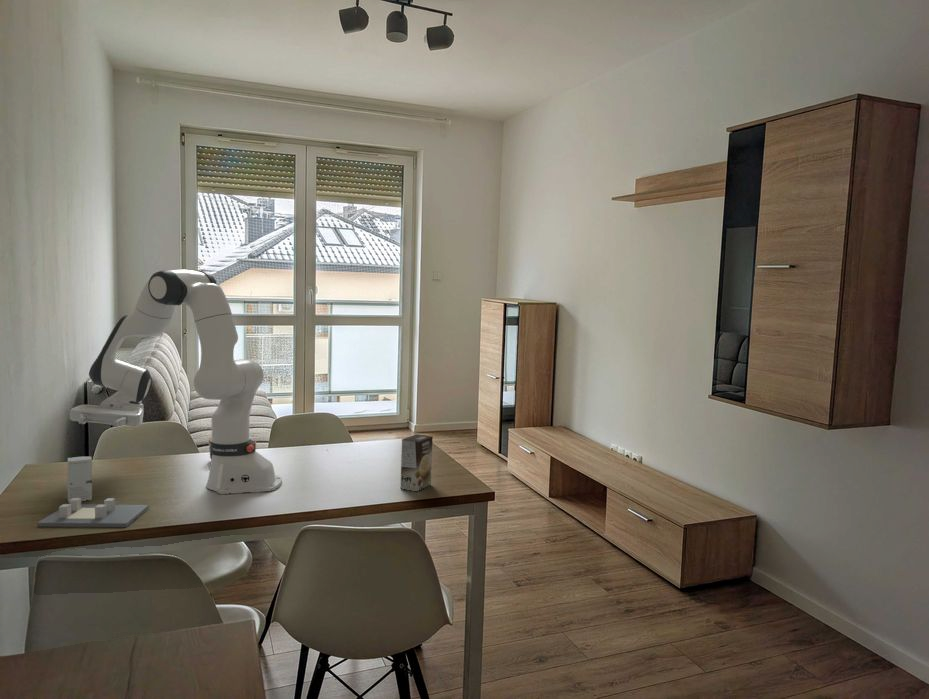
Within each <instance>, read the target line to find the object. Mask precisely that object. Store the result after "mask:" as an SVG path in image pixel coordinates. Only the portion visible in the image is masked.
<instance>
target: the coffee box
mask: <svg viewBox="0 0 929 699" xmlns="http://www.w3.org/2000/svg"><path fill="white" fill-rule="evenodd" d="M400 458H401V460H400V463H401V464H400V465H401V466H400V489H401V488H402V489H401V490H404V489H407V490H406V491H409V490H412V491H411V492H414V491H418V492H419V490H420V491H422V490H423V488H424V489H426V488H427V486H428V485H430V484H431V485H432V470H433V468H432V467H433V466H432V464H433V436H430V435H423V434H414V435H411V436H408V437H405V438H401V457H400ZM431 485H430V486H431ZM425 487H426V488H425ZM428 487H429V486H428ZM421 489H422V490H421Z"/></svg>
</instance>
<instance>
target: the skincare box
mask: <svg viewBox="0 0 929 699" xmlns="http://www.w3.org/2000/svg"><path fill="white" fill-rule="evenodd" d="M66 460H67V504H69V500H71V499H72V498H81V502H87V501H86V500H89V501H92V500H93V459H92V455H89V456H87V455H85V456H75V457H67V459H66Z"/></svg>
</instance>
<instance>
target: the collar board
mask: <svg viewBox="0 0 929 699" xmlns="http://www.w3.org/2000/svg"><path fill="white" fill-rule="evenodd" d="M148 508H149V509H150V504H116V498H113V497H111V498H109V497H108V498H106V499H104V501H103V504H93V503H92V504H91V503H89V504H85V503H84V504H83V503H82V501H81V498H72V499H71V500H69V503H62V504H61V505H60V506H59V507H58V509H57V510H56V511H54V512H53V513H51V514H49V515H48V516H46V517H44V518H43V519H41V520H39V521H38V522H37V527H40V528H41V527H45V528H50V527H53V528H54V527H57V528H58V527H62V528H63V527H64V528H67V527H69V528H79V527H80V528H85V527H86V528H128V527H129V526H130V525H131V524H132V523H133V522H135V521H136V520H137V519H138V518H140V517H141V516H142V515H143V514H144V513H145V511H146V510H147V509H148ZM149 509H148V510H149ZM148 510H147V511H148ZM147 511H146V512H147ZM143 512H144V513H143ZM142 513H143V514H142ZM141 514H142V515H141ZM140 515H141V516H140ZM137 517H138V518H137ZM136 518H137V519H136ZM135 519H136V520H135ZM134 520H135V521H134ZM129 524H130V525H129ZM128 525H129V526H128Z"/></svg>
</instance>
